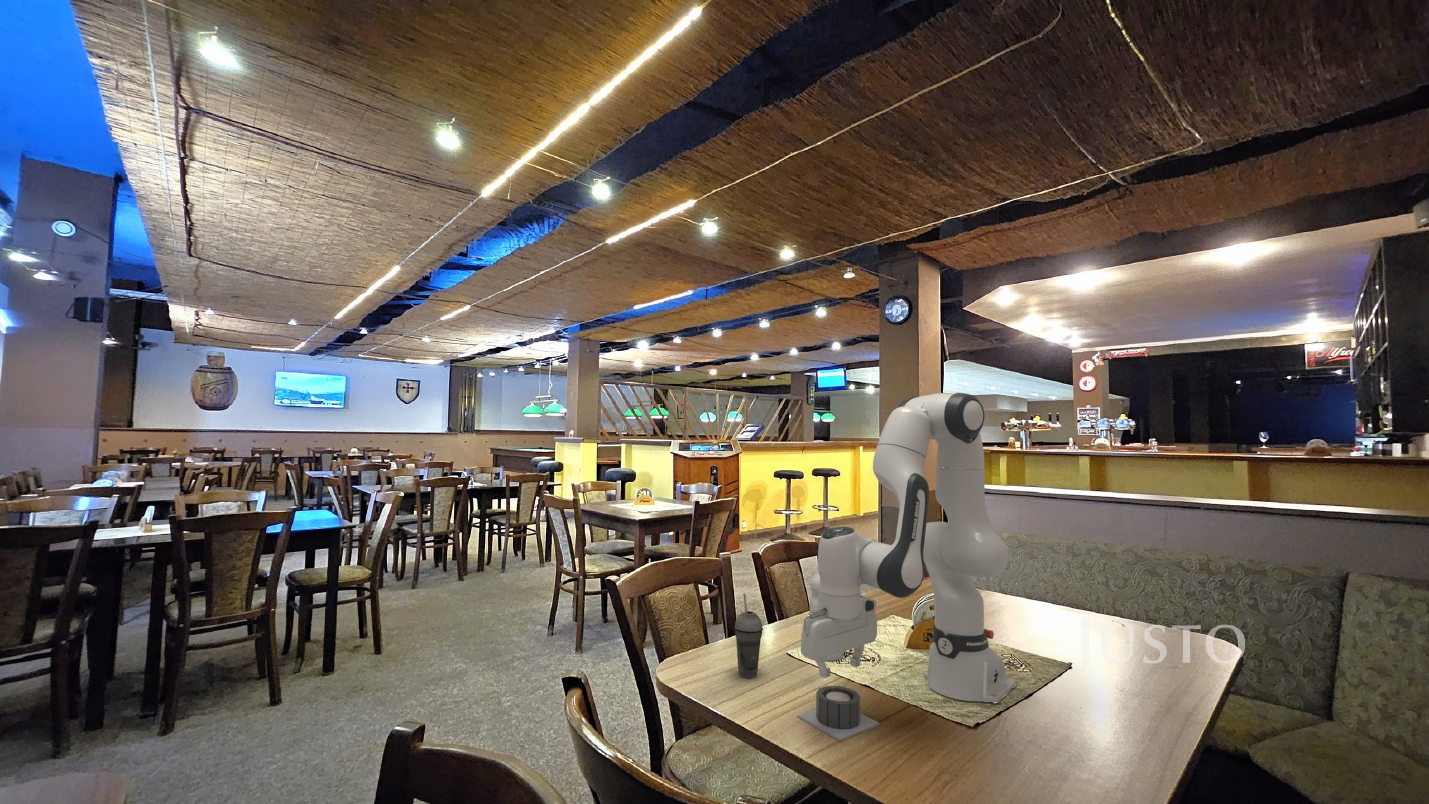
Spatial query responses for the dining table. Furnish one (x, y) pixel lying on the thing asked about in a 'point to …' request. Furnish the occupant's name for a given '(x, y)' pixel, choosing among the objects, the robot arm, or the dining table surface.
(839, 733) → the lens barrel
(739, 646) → the beverage cup
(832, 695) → the cap
